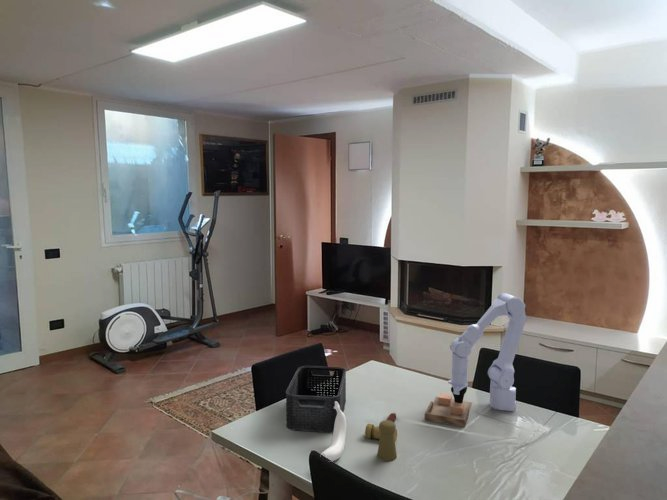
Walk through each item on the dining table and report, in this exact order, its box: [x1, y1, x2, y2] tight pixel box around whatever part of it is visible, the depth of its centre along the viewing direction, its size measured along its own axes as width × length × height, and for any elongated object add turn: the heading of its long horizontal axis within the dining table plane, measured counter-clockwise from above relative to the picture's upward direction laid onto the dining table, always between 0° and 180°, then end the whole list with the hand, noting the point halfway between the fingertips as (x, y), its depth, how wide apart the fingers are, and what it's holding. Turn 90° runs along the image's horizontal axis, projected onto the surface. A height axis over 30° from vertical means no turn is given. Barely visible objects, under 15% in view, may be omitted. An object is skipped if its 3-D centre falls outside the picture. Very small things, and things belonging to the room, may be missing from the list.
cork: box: [376, 419, 398, 462], centre depth 144 cm, size 6×6×11 cm
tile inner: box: [450, 402, 465, 415], centre depth 174 cm, size 4×4×2 cm
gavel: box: [364, 412, 398, 443], centre depth 163 cm, size 21×5×10 cm
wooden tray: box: [424, 396, 473, 428], centre depth 174 cm, size 14×22×3 cm, turn 157°
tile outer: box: [437, 392, 453, 405], centre depth 182 cm, size 4×4×2 cm
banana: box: [320, 401, 347, 462], centre depth 144 cm, size 5×19×15 cm, turn 167°
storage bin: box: [285, 365, 347, 433], centre depth 173 cm, size 29×19×13 cm
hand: (458, 405), depth 177 cm, fingers closed
